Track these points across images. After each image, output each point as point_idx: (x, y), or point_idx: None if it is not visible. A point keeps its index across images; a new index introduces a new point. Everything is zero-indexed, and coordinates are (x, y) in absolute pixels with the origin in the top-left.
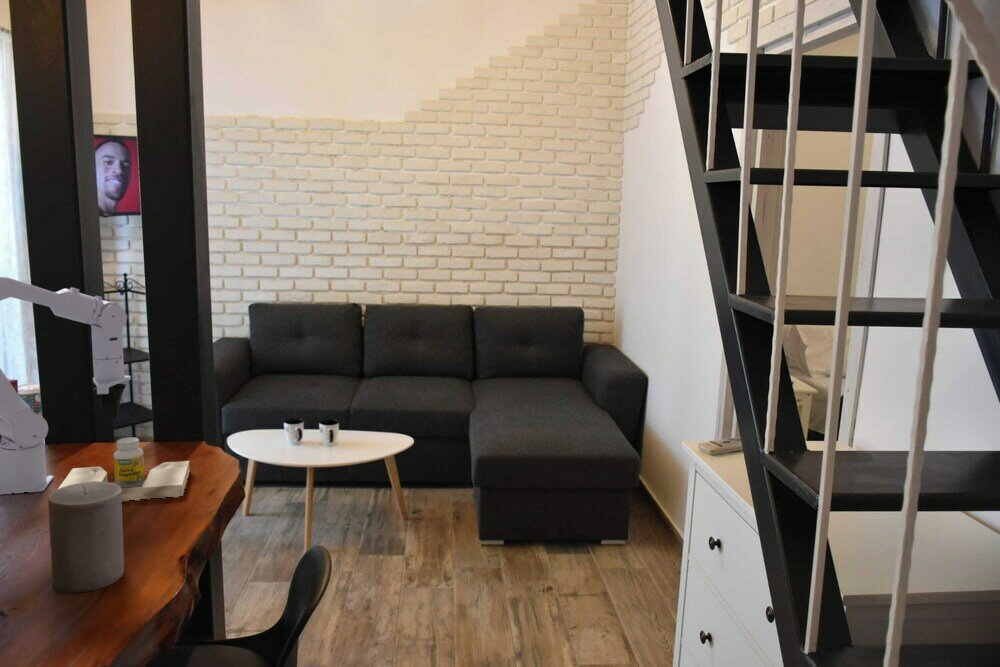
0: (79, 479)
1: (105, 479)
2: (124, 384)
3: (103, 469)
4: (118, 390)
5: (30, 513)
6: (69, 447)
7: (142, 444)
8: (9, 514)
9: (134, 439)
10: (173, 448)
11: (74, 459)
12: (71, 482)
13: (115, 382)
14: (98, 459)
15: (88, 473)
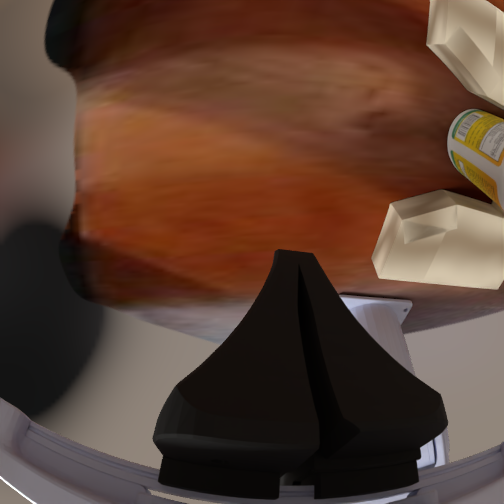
0: (462, 259)
1: (468, 204)
2: (213, 445)
3: (430, 212)
4: (442, 429)
5: (484, 298)
6: (113, 278)
7: (96, 113)
8: (468, 319)
9: None
10: (157, 8)
11: (203, 266)
12: (467, 271)
13: (491, 502)
14: (217, 214)
15: (437, 244)
